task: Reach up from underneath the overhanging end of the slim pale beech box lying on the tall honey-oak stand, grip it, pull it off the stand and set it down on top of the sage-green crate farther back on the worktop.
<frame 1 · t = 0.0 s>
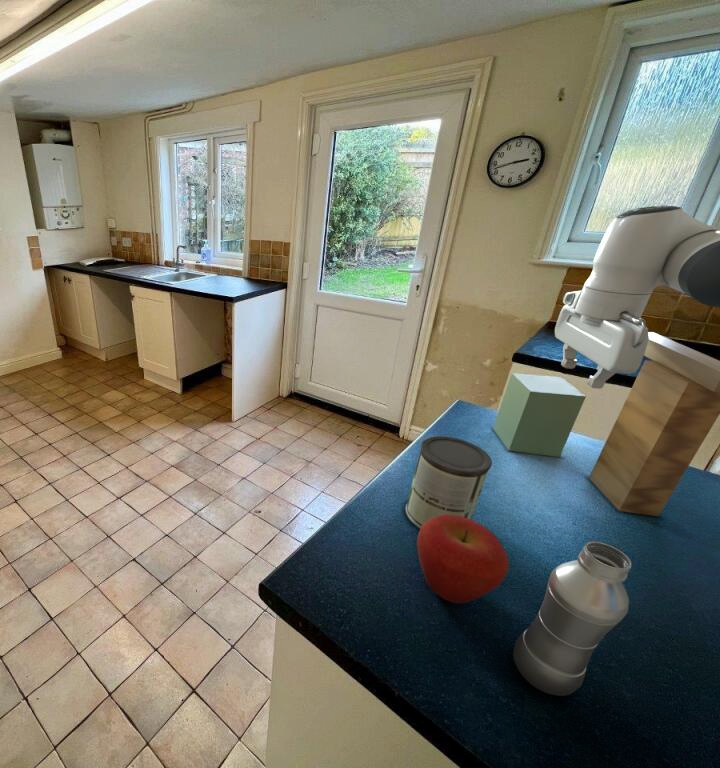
hand: (579, 376, 79), 21 cm above the worktop, tool pointing down, fingers open, 8 cm apart
low box: (524, 441, 97), on the worktop
apple: (446, 591, 61), on the worktop
slim box: (676, 366, 71), point 26 cm above the worktop, touching tall stand
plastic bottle: (539, 675, 50), on the worktop
tall stand: (621, 495, 80), on the worktop
coffee can: (435, 518, 75), on the worktop
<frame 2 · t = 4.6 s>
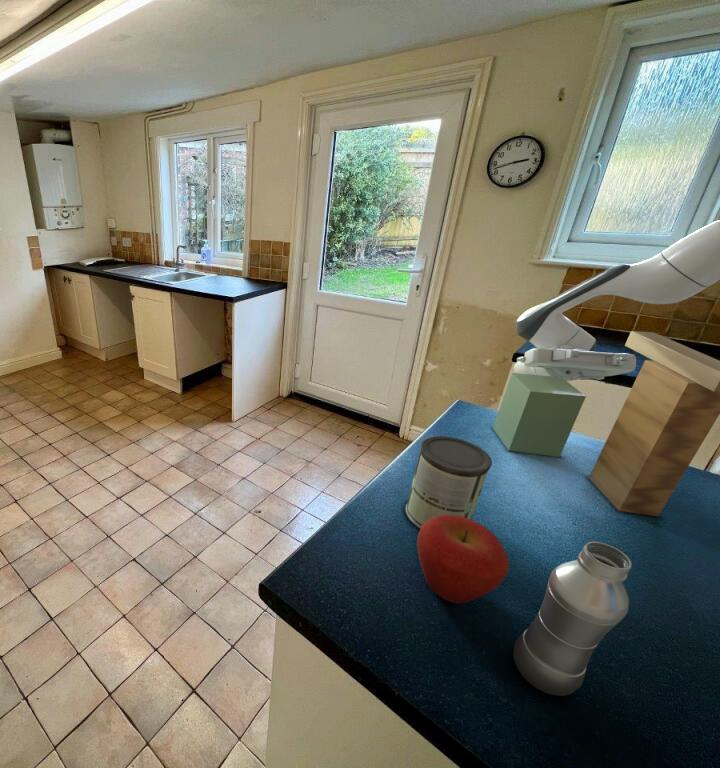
hand: (600, 355, 89), 21 cm above the worktop, tool pointing upward, fingers open, 8 cm apart
nothing on the worktop moved.
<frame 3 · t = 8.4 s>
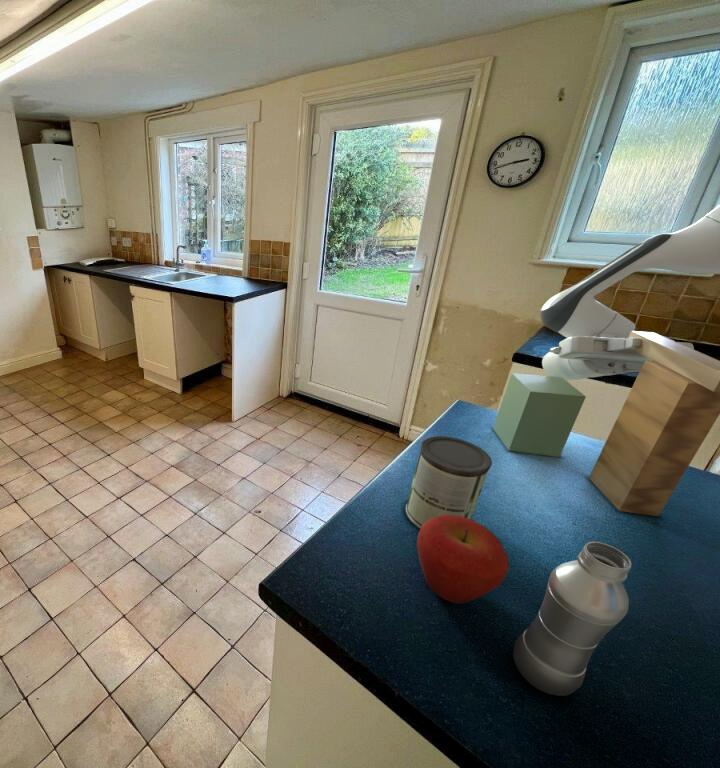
hand: (653, 343, 76), 28 cm above the worktop, tool pointing upward, fingers closed on slim box, 3 cm apart
slim box: (676, 366, 71), point 26 cm above the worktop, touching gripper, tall stand
everything else where it was.
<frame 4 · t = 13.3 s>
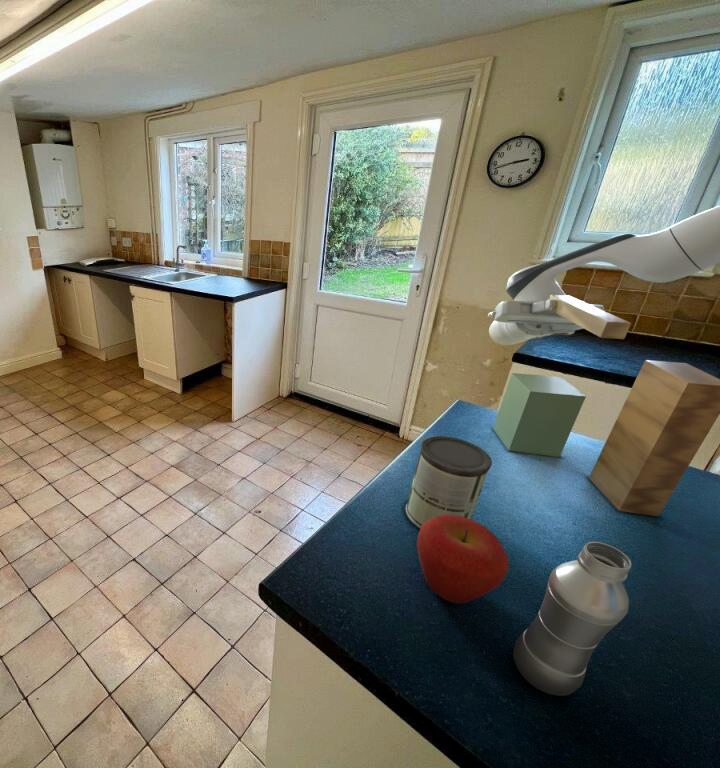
hand: (567, 303, 88), 31 cm above the worktop, tool pointing upward, fingers closed on slim box, 3 cm apart
slim box: (580, 321, 83), point 29 cm above the worktop, touching gripper
everything else where it was.
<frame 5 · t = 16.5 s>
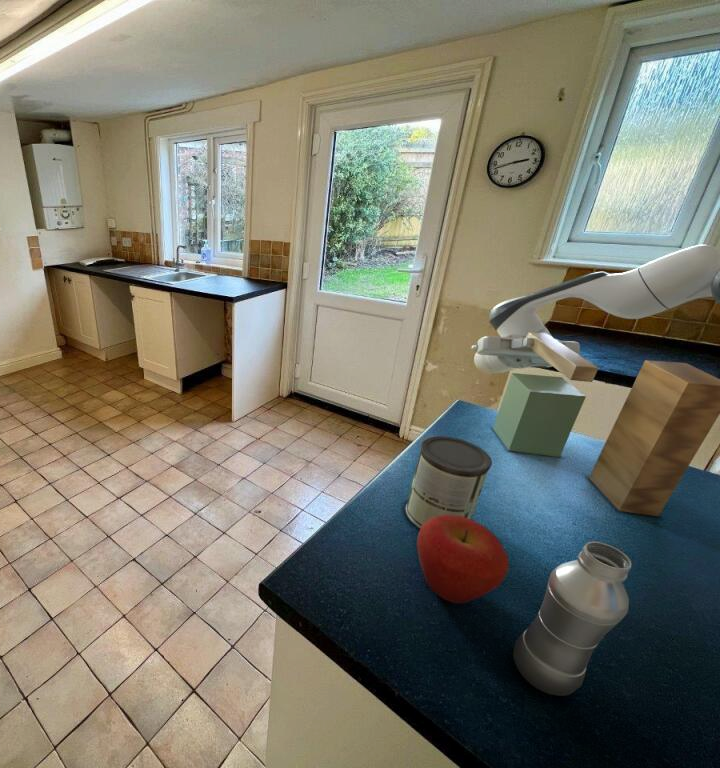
hand: (543, 342, 93), 22 cm above the worktop, tool pointing upward, fingers closed on slim box, 3 cm apart
slim box: (554, 361, 88), point 20 cm above the worktop, touching gripper
everything else where it was.
when the fingers open (17 cm above the worktop, at t = 18.7 s): slim box stays where it is, resting on low box.
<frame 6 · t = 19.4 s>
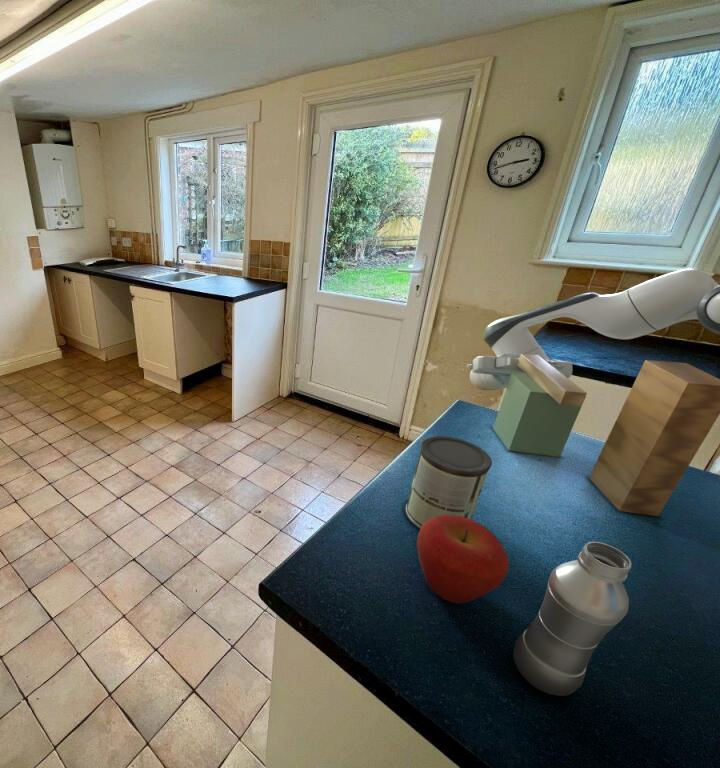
hand: (536, 362, 95), 17 cm above the worktop, tool pointing upward, fingers open, 8 cm apart
slim box: (545, 383, 91), point 15 cm above the worktop, touching low box
everything else where it was.
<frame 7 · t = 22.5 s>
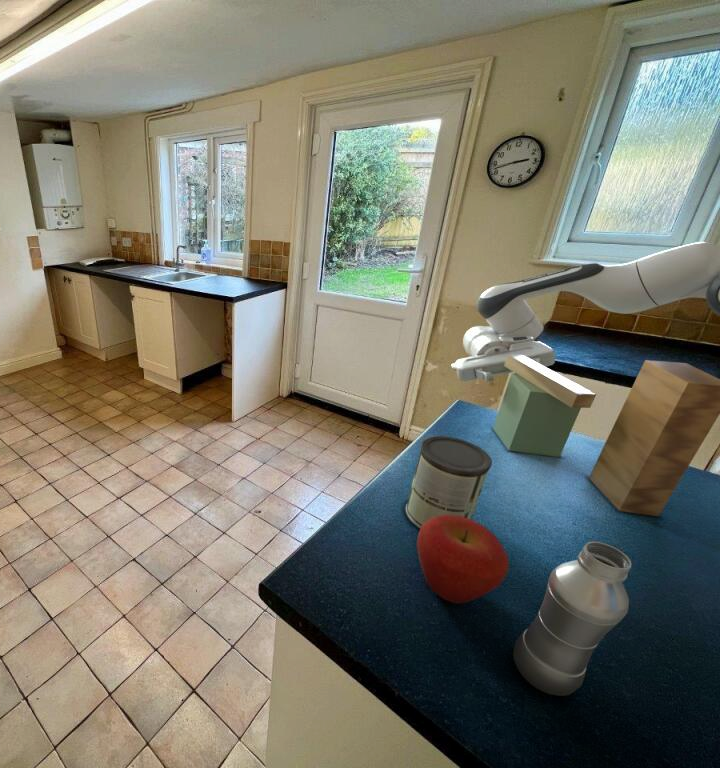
hand: (513, 374, 97), 14 cm above the worktop, tool horizontal, fingers open, 8 cm apart
slim box: (542, 384, 90), point 15 cm above the worktop, touching low box
everything else where it was.
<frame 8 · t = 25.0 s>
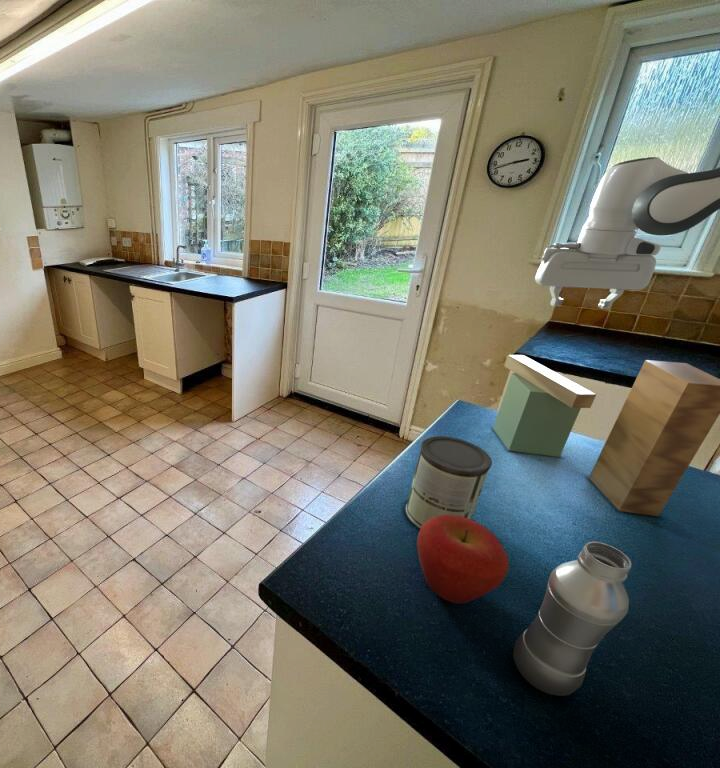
hand: (579, 307, 95), 29 cm above the worktop, tool pointing down, fingers open, 8 cm apart
nothing on the worktop moved.
at the end: slim box inside the target area on the low box (1.4 cm from its centre), point 15.0 cm above the low box's base; the gripper is holding nothing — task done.
